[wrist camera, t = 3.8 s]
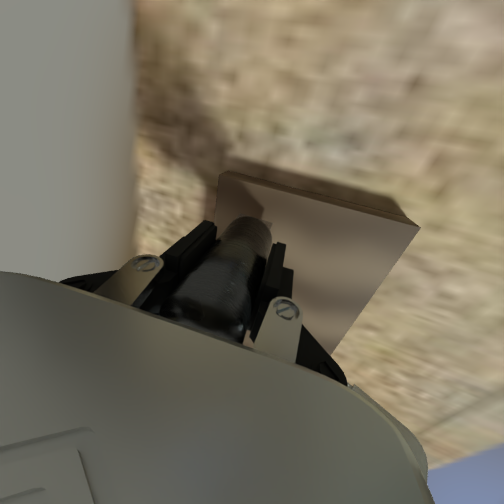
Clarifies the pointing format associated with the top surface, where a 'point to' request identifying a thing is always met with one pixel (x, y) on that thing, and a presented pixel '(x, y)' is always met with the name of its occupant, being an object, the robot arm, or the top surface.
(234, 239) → the lever
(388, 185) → the top surface
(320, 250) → the board
